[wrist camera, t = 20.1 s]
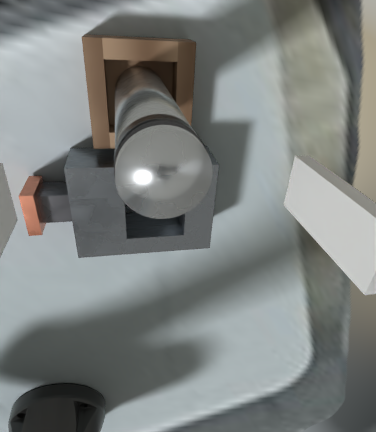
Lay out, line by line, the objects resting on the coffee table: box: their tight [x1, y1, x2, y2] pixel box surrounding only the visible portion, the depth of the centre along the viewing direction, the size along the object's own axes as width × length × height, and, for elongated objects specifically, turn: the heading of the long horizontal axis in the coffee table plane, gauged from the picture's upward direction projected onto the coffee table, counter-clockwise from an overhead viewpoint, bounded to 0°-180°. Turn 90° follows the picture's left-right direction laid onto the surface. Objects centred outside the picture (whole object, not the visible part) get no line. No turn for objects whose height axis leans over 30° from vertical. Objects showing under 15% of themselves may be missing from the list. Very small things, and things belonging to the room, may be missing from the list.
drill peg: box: [114, 66, 212, 219], centre depth 23 cm, size 5×5×18 cm
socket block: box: [64, 146, 219, 258], centre depth 34 cm, size 14×10×5 cm
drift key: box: [19, 176, 72, 236], centre depth 33 cm, size 8×4×4 cm, turn 87°
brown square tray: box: [82, 34, 196, 149], centre depth 29 cm, size 9×9×3 cm
